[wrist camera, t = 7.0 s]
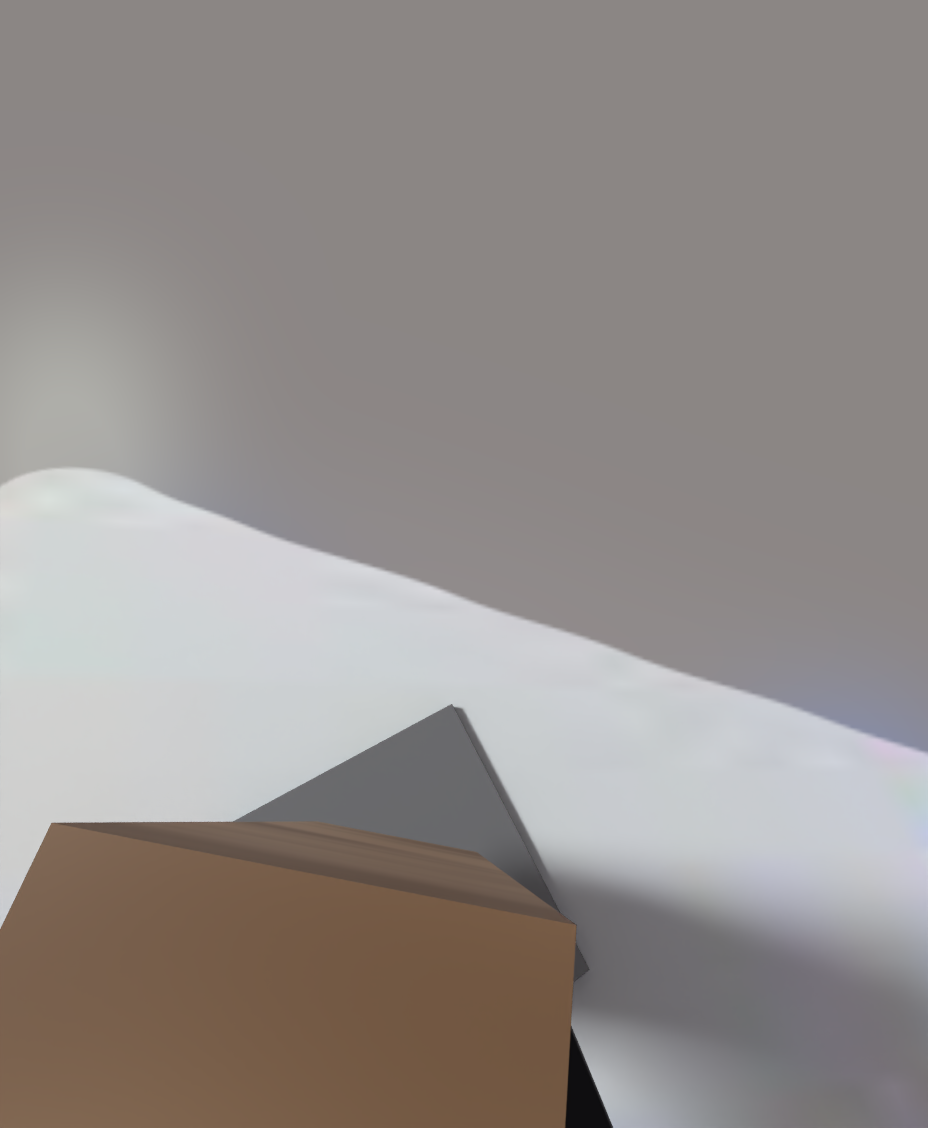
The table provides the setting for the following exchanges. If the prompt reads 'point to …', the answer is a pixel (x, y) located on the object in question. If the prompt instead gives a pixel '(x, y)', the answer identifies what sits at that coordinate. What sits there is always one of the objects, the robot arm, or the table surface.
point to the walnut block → (278, 983)
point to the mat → (419, 800)
